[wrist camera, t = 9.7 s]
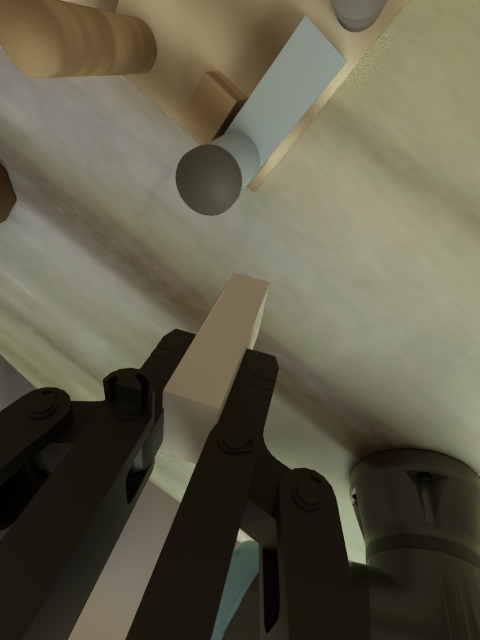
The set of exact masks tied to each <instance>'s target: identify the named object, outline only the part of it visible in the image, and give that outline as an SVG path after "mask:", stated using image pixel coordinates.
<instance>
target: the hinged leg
mask: <svg viewBox="0 0 480 640" xmlns="http://www.w3.org/2000/svg"><path fill="white" fill-rule="evenodd" d="M346 63H347V61H346V59H345V58H344V57H343V56H342V55H341V54H340V53H339V52H338V50H337V49H336V48H335V47H334V46H333V45H332V44H331V43H330V41H329V40H328V39H327V38H326V37H325V36H324V35H323V34H322V32H321V31H320V30H319V29H318V28H317V27H316V26H315V25H314V23H313V22H312V21H311V20H310V19H309V18H308V17H307V16H305V17H304V18H303V20H302V21H301V23H300V24H299V26H298V27H297V29H296V30H295V32H294V33H293V34H292V36H291V37H290V39H289V40H288V42H287V43H286V45H285V46H284V48H283V49H282V51H281V52H280V53H279V55H278V56H277V58H276V59H275V61H274V62H273V64H272V65H271V67H270V68H269V69H268V71H267V72H266V74H265V75H264V77H263V78H262V80H261V81H260V83H259V84H258V85H257V87H256V88H255V90H254V91H253V93H252V94H251V96H250V97H249V99H248V100H247V101H246V103H245V104H244V106H243V107H242V109H241V110H240V112H239V113H238V115H237V116H236V117H235V119H234V120H233V122H232V123H231V125H230V126H229V128H228V129H227V131H226V132H225V133H224V135H223V136H221V137H219V138H217V139H215V140H213V141H212V142H210V143H208V144H205V145H201V146H198V147H196V148H194V149H192V150H190V151H189V152H187V153H186V154H185V155H184V156H183V157H182V158H181V160H180V162H179V164H178V166H177V170H176V185H177V188H178V191H179V194H180V196H181V197H182V199H183V201H184V202H185V203H186V204H187V205H188V206H189V207H190V208H191V209H193V210H194V211H196V212H198V213H200V214H203V215H209V216H213V215H219V214H221V213H223V212H225V211H227V210H228V209H229V208H230V207H231V206H232V205H233V204H234V202H235V201H236V200H237V198H238V197H239V195H240V193H241V192H242V191H243V189H244V188H245V187H246V186H247V185H248V184H249V183H250V182H251V180H252V179H253V178H254V177H255V176H256V175H257V174H258V172H259V171H260V170H261V169H262V168H263V167H264V165H265V164H266V162H267V160H268V158H269V157H270V156H271V155H272V154H273V152H274V151H275V150H276V149H277V147H278V146H279V145H280V144H281V142H282V141H283V140H284V139H285V138H286V136H287V135H288V134H289V133H290V131H291V130H292V129H293V128H294V126H295V125H296V124H297V123H298V122H299V120H300V119H301V118H302V117H303V115H304V114H305V113H306V112H307V110H308V109H309V108H310V107H311V106H312V104H313V103H314V102H315V101H316V99H317V98H318V97H319V96H320V94H321V93H322V92H323V91H324V90H325V88H326V87H327V86H328V85H329V83H330V82H331V81H332V80H333V79H334V77H335V76H336V75H337V74H338V72H339V71H340V70H341V69H342V67H343V66H344V65H345V64H346Z"/></svg>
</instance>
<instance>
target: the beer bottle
mask: <svg viewBox="0 0 480 640" xmlns="http://www.w3.org/2000/svg"><path fill="white" fill-rule="evenodd" d="M16 201H17V199H16V196H15V193H14V190H13V188H12V185H11V182H10V179H9V176H8V173H7V170H5V169H4V168H3V167H2V166H1V165H0V223H1V222H3V221H5V220H6V219H7V217H8V215H9V213H10V212H11V210H12V208H13V206H14V204H15V202H16Z"/></svg>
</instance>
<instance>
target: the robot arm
mask: <svg viewBox="0 0 480 640" xmlns="http://www.w3.org/2000/svg"><path fill="white" fill-rule="evenodd" d="M269 285H270V282H266V281H262V280H258V279H255V278H251V277H247V276H243V275H239V274H236V273H233V275H232V276H231V278H230V280H229V281H228V283H227V285H226V286H225V288H224V290H223V291H222V293H221V295H220V296H219V298H218V300H217V301H216V303H215V305H214V306H213V308H212V310H211V311H210V313H209V315H208V316H207V318H206V320H205V321H204V323H203V325H202V326H201V328H200V330H199V331H198V333H197V335H196V334H193V333H189V332H186V331H182V330H179V329H175V330H173V331H171V332H170V333H168V334H166V335H165V336H164V337H163V338H162V339H161V341H160V342H159V344H158V345H157V347H156V348H155V349H154V351H153V352H152V353H151V356H150V357H149V358H148V359H147V360H146V362H145V363H144V364H143V366H142V367H141V369H135V368H125V369H119V370H117V371H114V372H112V373H110V374H109V375H108V376H106V377H105V378H104V379H103V384H104V392H105V400H103V401H71V400H70V396H69V395H68V394H67V393H66V392H65V391H64V390H61V389H59V388H54V387H45V388H40V389H36V390H33V391H31V392H29V393H27V394H26V395H24V396H22V397H21V398H19V399H18V400H16V401H15V402H14V403H12V404H11V405H9V406H8V407H6V408H5V409H3V410H2V411H0V640H68V638H69V636H70V634H71V632H72V630H73V628H74V626H75V624H76V622H77V620H78V618H79V616H80V614H81V612H82V610H83V608H84V606H85V604H86V602H87V600H88V598H89V596H90V594H91V592H92V590H93V588H94V586H95V584H96V582H97V580H98V578H99V576H100V574H101V572H102V570H103V568H104V566H105V564H106V562H107V560H108V558H109V556H110V554H111V552H112V550H113V548H114V546H115V544H116V542H117V540H118V538H119V536H120V534H121V532H122V530H123V528H124V526H125V524H126V522H127V520H128V518H129V516H130V514H131V512H132V510H133V508H134V506H135V504H136V502H137V500H138V498H139V496H140V494H141V492H142V490H143V489H144V486H145V484H146V483H147V481H148V479H149V477H150V475H151V473H152V471H153V467H154V463H155V455H156V453H157V451H158V449H159V447H160V445H161V443H162V451H161V452H162V453H165V454H168V455H171V456H174V457H177V458H180V459H183V460H186V461H189V462H192V463H195V464H196V467H195V469H194V472H193V474H192V476H191V479H190V481H189V484H188V486H187V489H186V491H185V494H184V496H183V499H182V501H181V504H180V506H179V509H178V511H177V514H176V516H175V518H174V521H173V523H172V526H171V529H170V531H169V534H168V536H167V538H166V541H165V543H164V546H163V548H162V551H161V553H160V556H159V558H158V560H157V563H156V566H155V568H154V571H153V573H152V576H151V578H150V580H149V583H148V585H147V588H146V590H145V593H144V595H143V598H142V601H141V603H140V605H139V608H138V610H137V612H136V615H135V617H134V620H133V622H132V625H131V627H130V630H129V632H128V635H127V637H126V640H480V478H479V477H478V475H477V474H476V473H475V472H474V471H473V470H472V469H470V468H469V467H468V466H466V465H465V464H463V463H461V462H459V461H457V460H455V459H453V458H451V457H448V456H445V455H442V454H438V453H434V452H429V451H423V450H412V449H400V450H390V451H384V452H380V453H376V454H373V455H371V456H368V457H366V458H364V459H363V460H361V461H360V462H359V463H358V464H356V466H355V467H354V468H353V470H352V472H351V474H350V498H351V502H352V505H353V507H354V511H355V514H356V517H357V520H358V523H359V526H360V529H361V532H362V536H363V539H364V542H365V546H366V565H365V564H361V563H356V562H352V561H348V557H347V552H346V547H345V541H344V536H343V531H342V526H341V521H340V516H339V510H338V505H337V500H336V496H335V494H334V491H333V488H332V486H331V485H330V484H329V482H328V481H327V480H326V479H325V477H323V476H322V475H320V474H319V473H317V472H316V471H314V470H311V469H307V468H295V469H293V470H291V469H290V468H288V467H287V466H285V465H284V464H282V463H281V462H280V461H278V460H277V459H276V458H275V457H274V456H272V454H271V453H270V452H269V450H268V449H267V447H266V445H265V443H264V438H263V430H264V425H265V421H266V417H267V413H268V409H269V406H270V402H271V398H272V394H273V390H274V386H275V382H276V378H277V374H278V370H279V368H278V364H277V361H276V357H275V356H272V355H268V354H265V353H261V352H258V351H255V350H253V347H254V344H255V342H256V339H257V336H258V332H259V328H260V324H261V319H262V315H263V311H264V306H265V302H266V298H267V293H268V289H269ZM239 528H240V529H242V530H243V531H244V532H245V533H246V534H248V535H249V536H250V537H251V538H252V539H254V540H255V541H252V540H249V541H244V542H242V543H240V544H239V545H238V546H237V547H236V548H235V549H234V547H235V543H236V539H237V535H238V531H239Z"/></svg>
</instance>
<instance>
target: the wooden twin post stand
mask: <svg viewBox="0 0 480 640" xmlns="http://www.w3.org/2000/svg"><path fill="white" fill-rule="evenodd" d="M407 2H408V0H119V2H118V4H117V7H116V10H115V13H114V12H109V11H105V10H100V9H96V8H91V7H87V6H82V5H78V4H73V3H69V2H64V1H60V0H0V42H1V45H2V47H3V49H4V51H5V53H6V54H7V56H8V58H9V59H10V60H11V62H12V63H13V64H14V65H15V66H16V67H17V68H18V69H19V70H20V71H22V72H23V73H24V74H26V75H28V76H30V77H34V78H50V77H76V76H101V75H124V76H125V77H126V78H128V79H129V80H130V81H131V82H132V83H133V84H134V85H135V86H136V87H138V88H139V89H140V90H141V91H142V92H143V93H144V94H145V95H146V96H148V97H149V98H150V99H151V100H152V101H153V102H154V103H155V104H156V105H158V106H159V107H160V108H161V109H162V110H163V111H164V112H165V113H166V114H168V115H169V116H170V117H171V118H172V119H173V120H174V121H175V122H176V123H178V124H179V125H180V126H181V127H182V128H183V129H184V130H185V131H186V132H188V133H189V134H190V135H191V136H192V137H193V138H194V139H195V140H196V141H198V142H199V143H200V144H201V145H205V144H208V143H210V142H212V141H213V140H215V139H217V138H219V137H221V136H223V135H224V133H225V132H226V131H227V129H228V128H229V126H230V125H231V123H232V122H233V120H234V119H235V117H236V116H237V115H238V113H239V112H240V110H241V109H242V107H243V106H244V104H245V103H246V101H247V100H248V99H249V97H250V96H251V94H252V93H253V91H254V90H255V88H256V87H257V85H258V84H259V83H260V81H261V80H262V78H263V77H264V75H265V74H266V72H267V71H268V69H269V68H270V67H271V65H272V64H273V62H274V61H275V59H276V58H277V56H278V55H279V53H280V52H281V51H282V49H283V48H284V46H285V45H286V43H287V42H288V40H289V39H290V37H291V36H292V34H293V33H294V32H295V30H296V29H297V27H298V26H299V24H300V23H301V21H302V20H303V18H304V17H305V16H307V17H308V18H309V19H310V20H311V21H312V22H313V23H314V25H315V26H316V27H317V28H318V29H319V30H320V31H321V32H322V34H323V35H324V36H325V37H326V38H327V39H328V40H329V41H330V43H331V44H332V45H333V46H334V47H335V48H336V49H337V50H338V52H339V53H340V54H341V55H342V56H343V57H344V58H345V59H346V61H347V63H346V64H345V65H344V66H343V67H342V69H341V70H340V71H339V72H338V74H337V75H336V76H335V77H334V79H333V80H332V81H331V82H330V83H329V85H328V86H327V87H326V88H325V90H324V91H323V92H322V93H321V94H320V96H319V97H318V98H317V99H316V101H315V102H314V103H313V104H312V106H311V107H310V108H309V109H308V110H307V112H306V113H305V114H304V115H303V117H302V118H301V119H300V120H299V122H298V123H297V124H296V125H295V126H294V128H293V129H292V130H291V131H290V133H289V134H288V135H287V136H286V138H285V139H284V140H283V141H282V142H281V144H280V145H279V146H278V147H277V149H276V150H275V151H274V152H273V154H272V155H271V156H270V157H269V158H268V160H267V162H266V164H265V165H264V167H263V168H262V169H261V170H260V171H259V172H258V174H257V175H256V176H255V177H254V178H253V179H252V180H251V182H250V183H249V184H248V185H247V186H248V187H249V188H250V189H251V190H252V191H253V192H255V191H256V190H257V188H258V187H259V186H260V185H261V183H262V182H263V181H264V180H265V179H266V177H267V176H268V175H269V174H270V172H271V171H272V170H273V169H274V167H275V166H276V165H277V164H278V162H279V161H280V160H281V159H282V157H283V156H284V155H285V154H286V152H287V151H288V150H289V149H290V147H291V146H292V145H293V144H294V142H295V141H296V140H297V139H298V137H299V136H300V135H301V134H302V132H303V131H304V130H305V129H306V127H307V126H308V125H309V124H310V122H311V121H312V120H313V119H314V117H315V116H316V115H317V114H318V112H319V111H320V110H321V109H322V108H323V106H324V105H325V104H326V103H327V101H328V100H329V99H330V98H331V96H332V95H333V94H334V93H335V91H336V90H337V89H338V88H339V86H340V85H341V84H342V83H343V81H344V80H345V79H346V78H347V76H348V75H349V74H350V73H351V71H352V70H353V69H354V68H355V66H356V65H357V64H358V63H359V61H360V60H361V59H362V58H363V56H364V55H365V54H366V53H367V51H368V50H369V49H370V48H371V46H372V45H373V44H374V43H375V41H376V40H377V39H378V38H379V37H380V35H381V34H382V33H383V32H384V30H385V29H386V28H387V27H388V25H389V24H390V23H391V22H392V20H393V19H394V18H395V17H396V15H397V14H398V13H399V12H400V10H401V9H402V8H403V7H404V5H405V4H406V3H407Z"/></svg>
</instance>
